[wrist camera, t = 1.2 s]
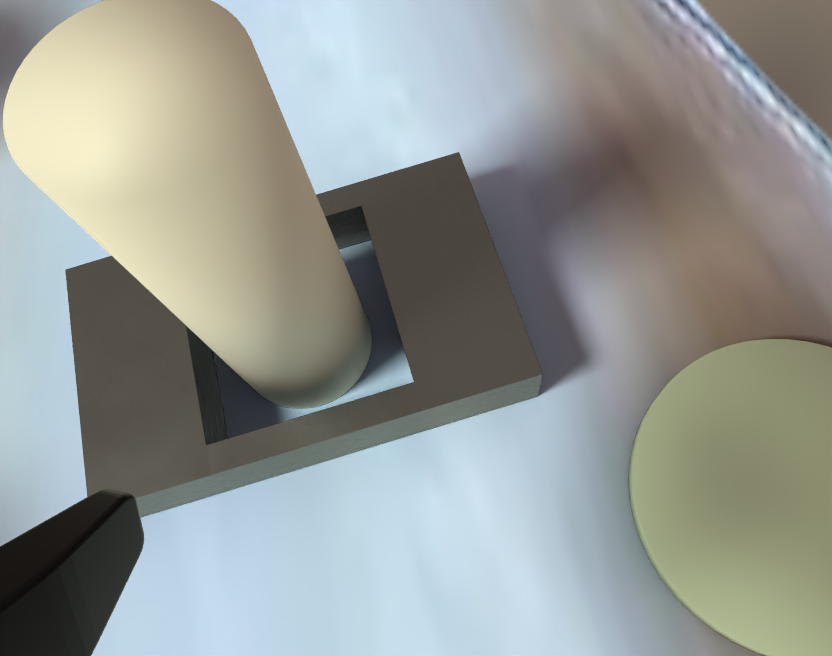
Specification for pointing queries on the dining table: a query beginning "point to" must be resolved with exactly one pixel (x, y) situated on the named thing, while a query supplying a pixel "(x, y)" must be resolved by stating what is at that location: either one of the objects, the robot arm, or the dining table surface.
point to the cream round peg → (193, 187)
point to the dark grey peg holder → (327, 429)
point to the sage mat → (743, 493)
